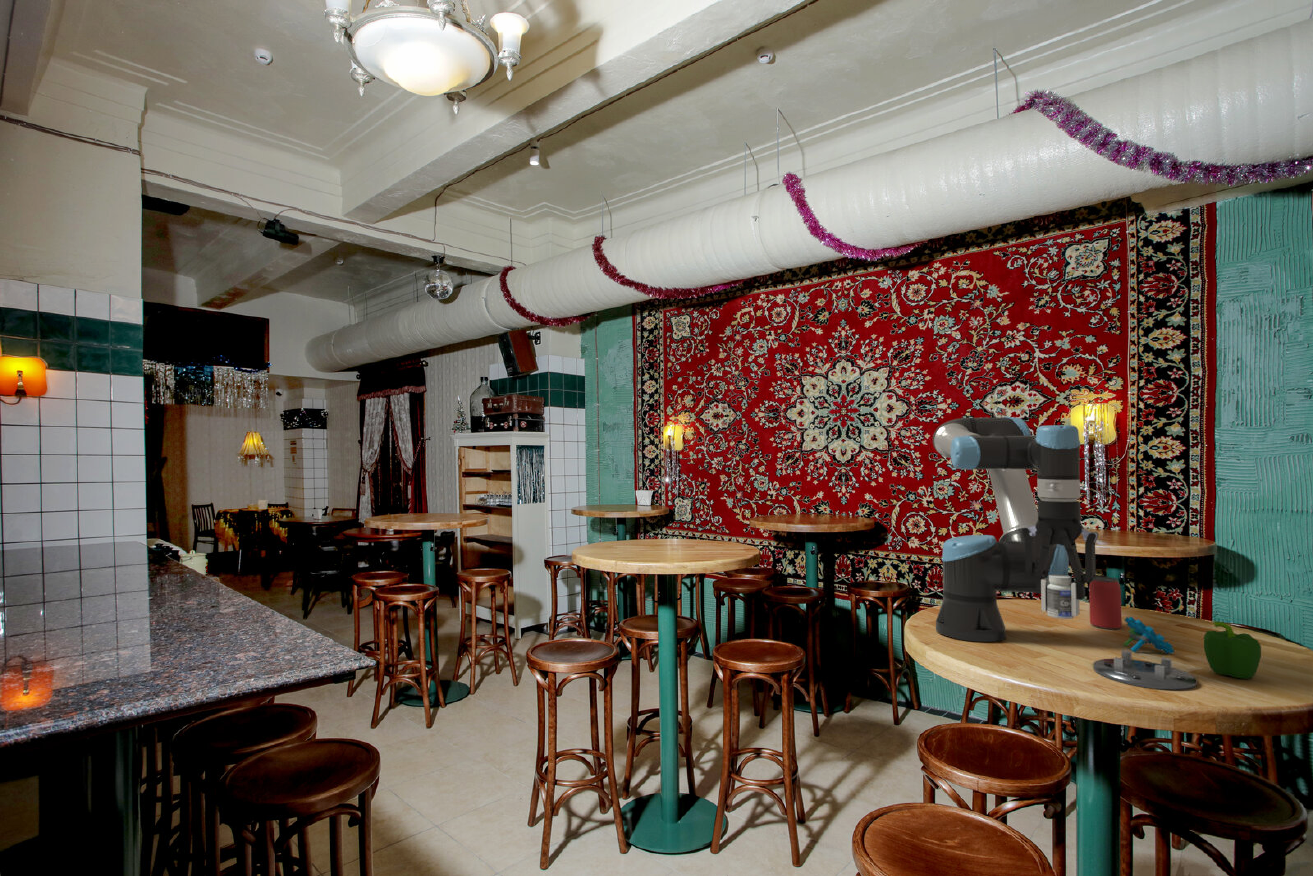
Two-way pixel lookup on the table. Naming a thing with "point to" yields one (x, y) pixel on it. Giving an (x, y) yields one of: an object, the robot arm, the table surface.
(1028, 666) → the table surface
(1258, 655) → the bell pepper
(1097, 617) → the beer can
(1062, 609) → the pill bottle
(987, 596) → the robot arm
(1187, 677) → the hub
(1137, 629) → the gear
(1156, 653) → the table surface
